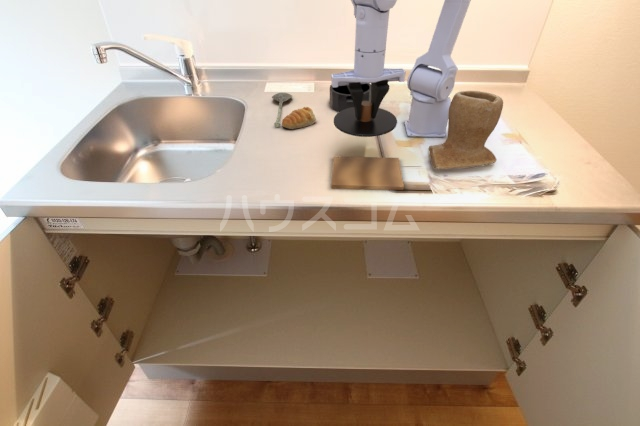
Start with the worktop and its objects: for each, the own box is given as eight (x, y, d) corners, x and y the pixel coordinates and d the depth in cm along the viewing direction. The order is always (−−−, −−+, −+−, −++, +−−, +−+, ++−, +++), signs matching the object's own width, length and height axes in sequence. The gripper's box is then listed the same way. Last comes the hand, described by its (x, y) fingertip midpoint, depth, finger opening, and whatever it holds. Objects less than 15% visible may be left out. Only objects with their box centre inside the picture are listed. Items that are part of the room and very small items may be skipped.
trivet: (398, 161, 74) (398, 157, 73) (403, 190, 66) (404, 186, 65) (333, 160, 75) (333, 156, 75) (331, 188, 67) (331, 184, 66)
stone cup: (475, 143, 79) (495, 81, 69) (500, 170, 70) (528, 104, 60) (415, 148, 78) (428, 87, 68) (434, 176, 69) (451, 110, 59)
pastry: (290, 133, 85) (289, 120, 83) (277, 125, 89) (275, 112, 87) (318, 122, 90) (317, 109, 87) (303, 115, 94) (303, 102, 91)
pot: (369, 93, 104) (371, 76, 101) (371, 117, 91) (373, 99, 87) (331, 93, 105) (331, 76, 102) (328, 117, 92) (327, 99, 88)
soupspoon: (293, 98, 105) (274, 99, 105) (292, 87, 103) (272, 89, 103) (288, 126, 88) (265, 128, 88) (287, 115, 86) (263, 117, 86)
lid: (385, 108, 75) (387, 88, 72) (405, 136, 65) (409, 114, 62) (328, 113, 74) (328, 93, 71) (340, 142, 64) (340, 120, 61)
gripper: (400, 40, 63) (392, 106, 72) (328, 45, 61) (329, 112, 71) (413, 50, 58) (402, 120, 67) (334, 56, 56) (334, 126, 65)
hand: (365, 117), depth 68 cm, fingers closed on lid, 2 cm apart
